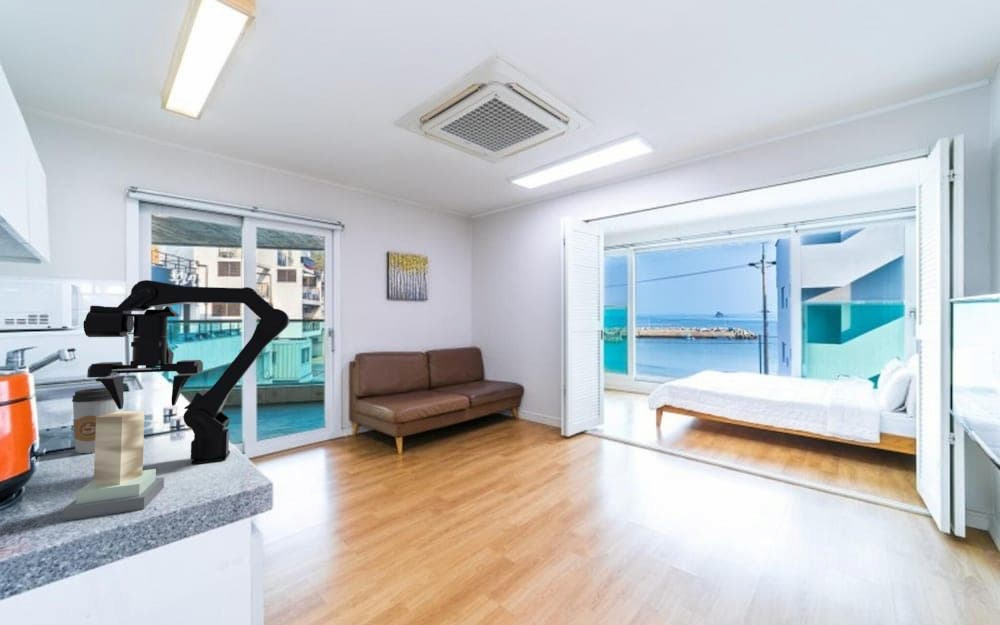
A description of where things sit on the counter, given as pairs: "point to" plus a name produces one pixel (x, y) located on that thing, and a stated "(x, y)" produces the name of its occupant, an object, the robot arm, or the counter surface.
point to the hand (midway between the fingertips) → (147, 407)
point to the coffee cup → (89, 415)
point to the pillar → (118, 447)
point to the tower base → (113, 504)
